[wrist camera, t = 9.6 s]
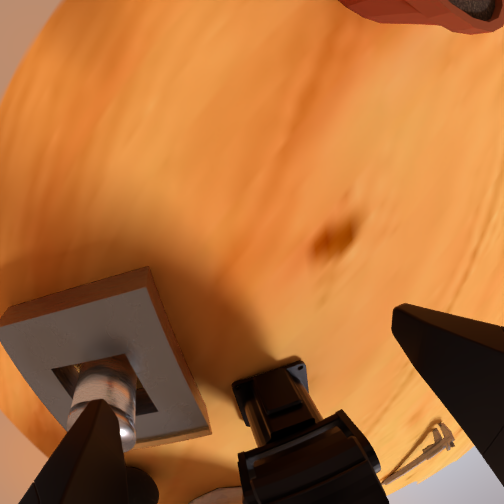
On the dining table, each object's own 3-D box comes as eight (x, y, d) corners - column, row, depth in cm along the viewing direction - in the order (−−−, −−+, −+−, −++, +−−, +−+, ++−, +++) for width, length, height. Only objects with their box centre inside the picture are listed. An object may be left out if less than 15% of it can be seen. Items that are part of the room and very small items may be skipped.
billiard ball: (132, 453, 25) (134, 500, 20) (166, 474, 28) (172, 516, 22) (94, 464, 25) (92, 507, 19) (129, 484, 27) (131, 523, 22)
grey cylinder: (146, 380, 22) (147, 449, 16) (98, 389, 21) (90, 456, 15) (123, 337, 20) (115, 408, 14) (73, 349, 20) (53, 416, 13)
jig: (206, 406, 25) (212, 434, 22) (89, 428, 23) (86, 454, 20) (148, 266, 19) (145, 289, 16) (8, 307, 17) (-9, 331, 14)
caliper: (438, 421, 43) (457, 442, 37) (441, 420, 43) (459, 440, 37) (379, 483, 48) (392, 503, 42) (382, 482, 48) (395, 501, 42)
